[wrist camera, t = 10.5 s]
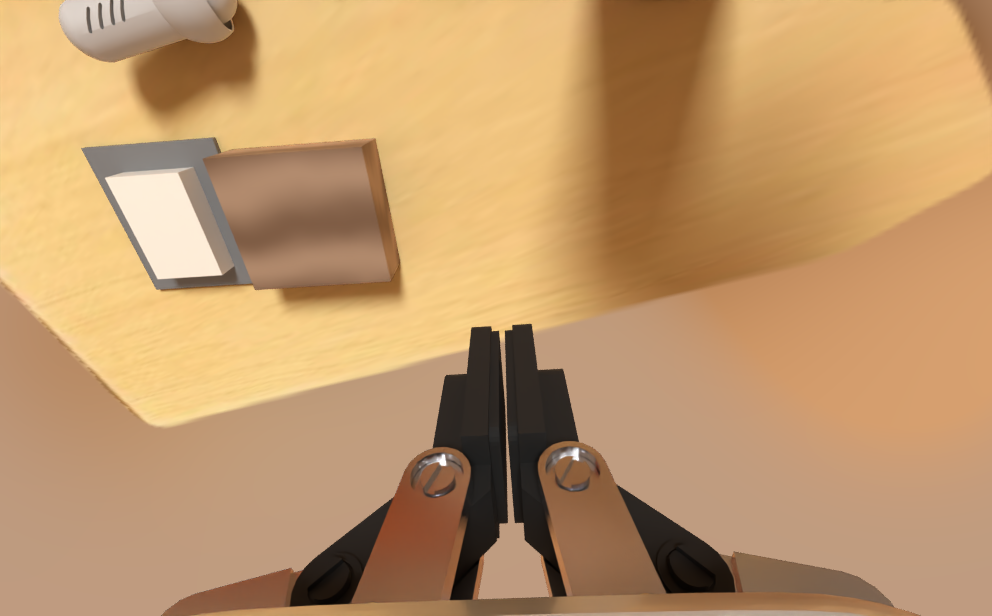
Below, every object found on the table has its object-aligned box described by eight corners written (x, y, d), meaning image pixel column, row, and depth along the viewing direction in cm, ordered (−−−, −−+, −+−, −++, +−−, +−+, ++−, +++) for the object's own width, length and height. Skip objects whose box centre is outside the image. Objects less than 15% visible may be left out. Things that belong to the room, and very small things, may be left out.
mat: (85, 147, 35) (81, 148, 34) (214, 137, 34) (212, 138, 34) (159, 287, 41) (156, 289, 41) (269, 280, 41) (267, 282, 40)
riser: (231, 149, 35) (202, 158, 31) (375, 138, 34) (361, 146, 31) (275, 270, 40) (255, 290, 37) (400, 262, 40) (390, 281, 36)
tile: (177, 172, 33) (193, 167, 35) (104, 177, 34) (124, 172, 35) (222, 275, 38) (234, 265, 40) (157, 279, 38) (172, 269, 40)
